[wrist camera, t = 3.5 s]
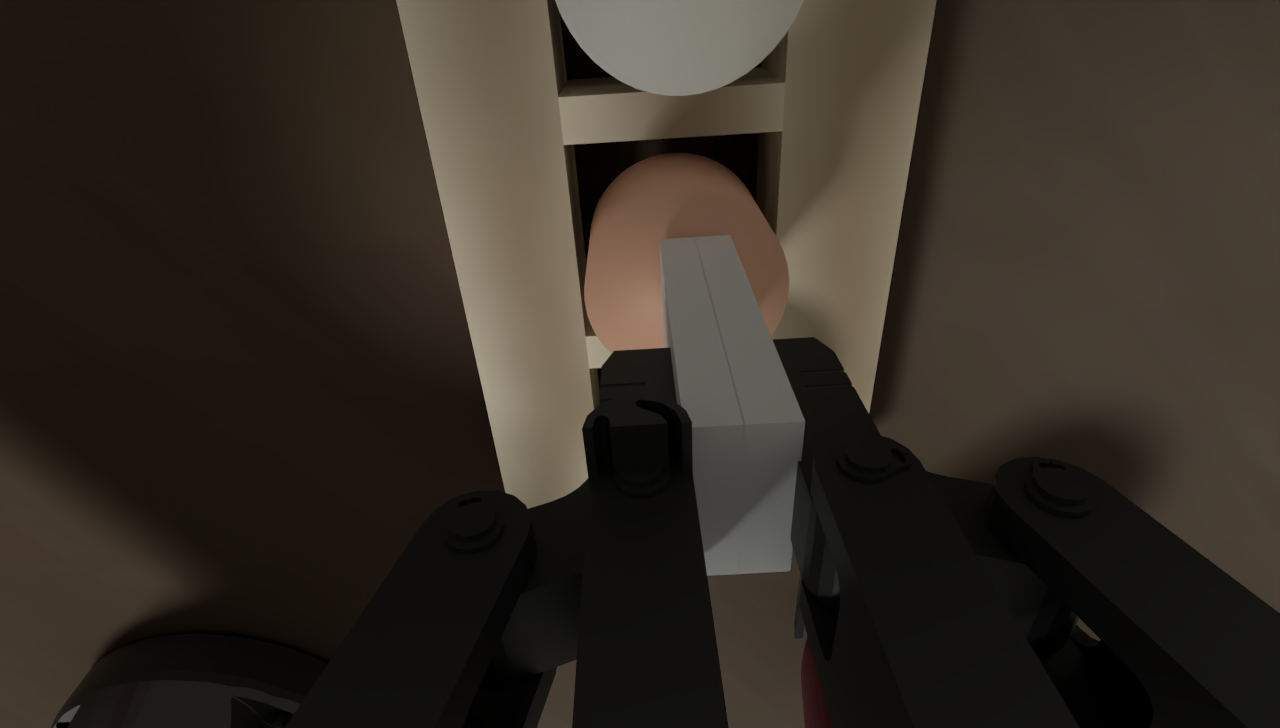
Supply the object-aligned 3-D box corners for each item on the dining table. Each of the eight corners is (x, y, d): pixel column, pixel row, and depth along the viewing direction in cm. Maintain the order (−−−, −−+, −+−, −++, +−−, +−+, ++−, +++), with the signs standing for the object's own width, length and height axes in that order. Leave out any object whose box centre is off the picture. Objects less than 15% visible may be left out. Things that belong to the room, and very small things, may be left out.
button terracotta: (598, 319, 18) (594, 386, 16) (581, 158, 16) (573, 200, 13) (756, 310, 18) (782, 374, 15) (763, 146, 16) (796, 185, 13)
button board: (525, 477, 25) (514, 534, 23) (385, -236, 14) (333, -284, 12) (828, 459, 25) (852, 514, 23) (922, -273, 14) (990, -327, 12)
